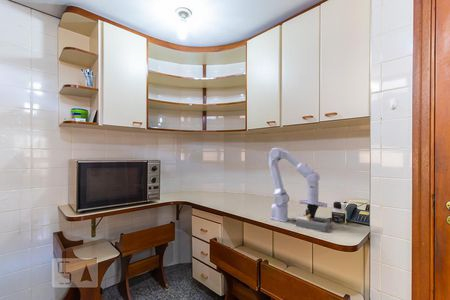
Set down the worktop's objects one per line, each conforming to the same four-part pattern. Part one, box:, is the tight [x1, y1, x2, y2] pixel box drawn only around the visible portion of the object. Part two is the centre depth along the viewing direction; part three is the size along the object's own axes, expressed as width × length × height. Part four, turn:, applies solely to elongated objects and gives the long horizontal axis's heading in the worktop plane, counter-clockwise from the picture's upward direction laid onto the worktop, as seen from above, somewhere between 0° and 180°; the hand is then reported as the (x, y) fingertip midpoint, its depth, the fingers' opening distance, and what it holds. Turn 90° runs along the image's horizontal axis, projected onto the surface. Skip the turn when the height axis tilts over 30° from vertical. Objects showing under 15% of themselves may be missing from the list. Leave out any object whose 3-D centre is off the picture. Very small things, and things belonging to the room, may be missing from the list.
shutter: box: [295, 214, 312, 220], centre depth 127 cm, size 7×7×3 cm
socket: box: [296, 214, 332, 233], centre depth 124 cm, size 15×12×4 cm
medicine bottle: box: [331, 201, 348, 226], centre depth 130 cm, size 7×7×12 cm
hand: (312, 218), depth 124 cm, fingers closed
